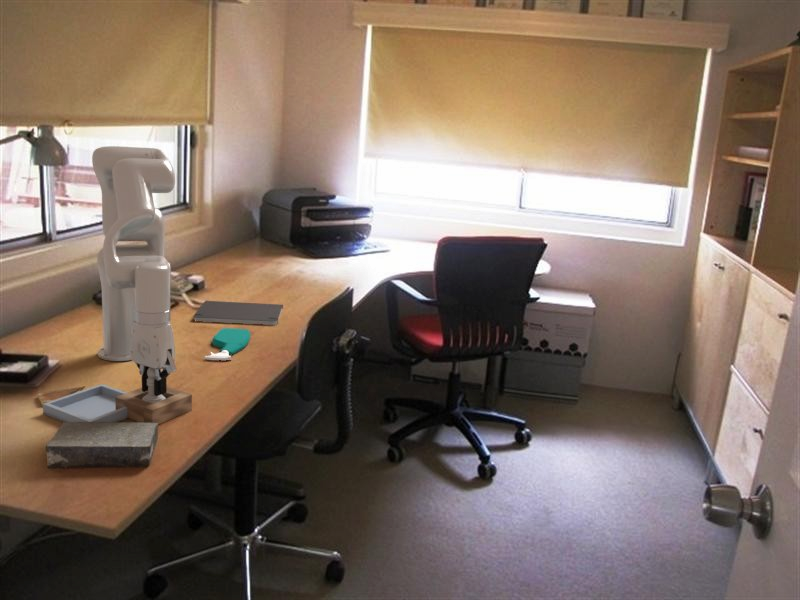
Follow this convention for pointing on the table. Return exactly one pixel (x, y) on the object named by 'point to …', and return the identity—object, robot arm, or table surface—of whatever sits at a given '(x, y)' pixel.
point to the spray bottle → (229, 343)
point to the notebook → (239, 312)
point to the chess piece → (152, 388)
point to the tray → (88, 406)
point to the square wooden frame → (155, 405)
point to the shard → (57, 394)
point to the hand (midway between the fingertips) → (154, 391)
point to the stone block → (102, 445)
